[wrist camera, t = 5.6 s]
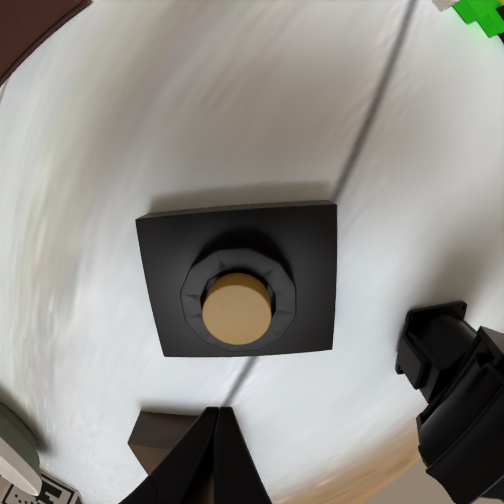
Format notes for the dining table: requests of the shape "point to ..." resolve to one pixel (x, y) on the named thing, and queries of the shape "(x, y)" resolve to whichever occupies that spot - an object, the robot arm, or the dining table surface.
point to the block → (42, 493)
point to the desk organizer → (30, 27)
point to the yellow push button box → (243, 261)
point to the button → (237, 309)
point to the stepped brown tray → (157, 436)
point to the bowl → (18, 453)
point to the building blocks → (479, 13)
